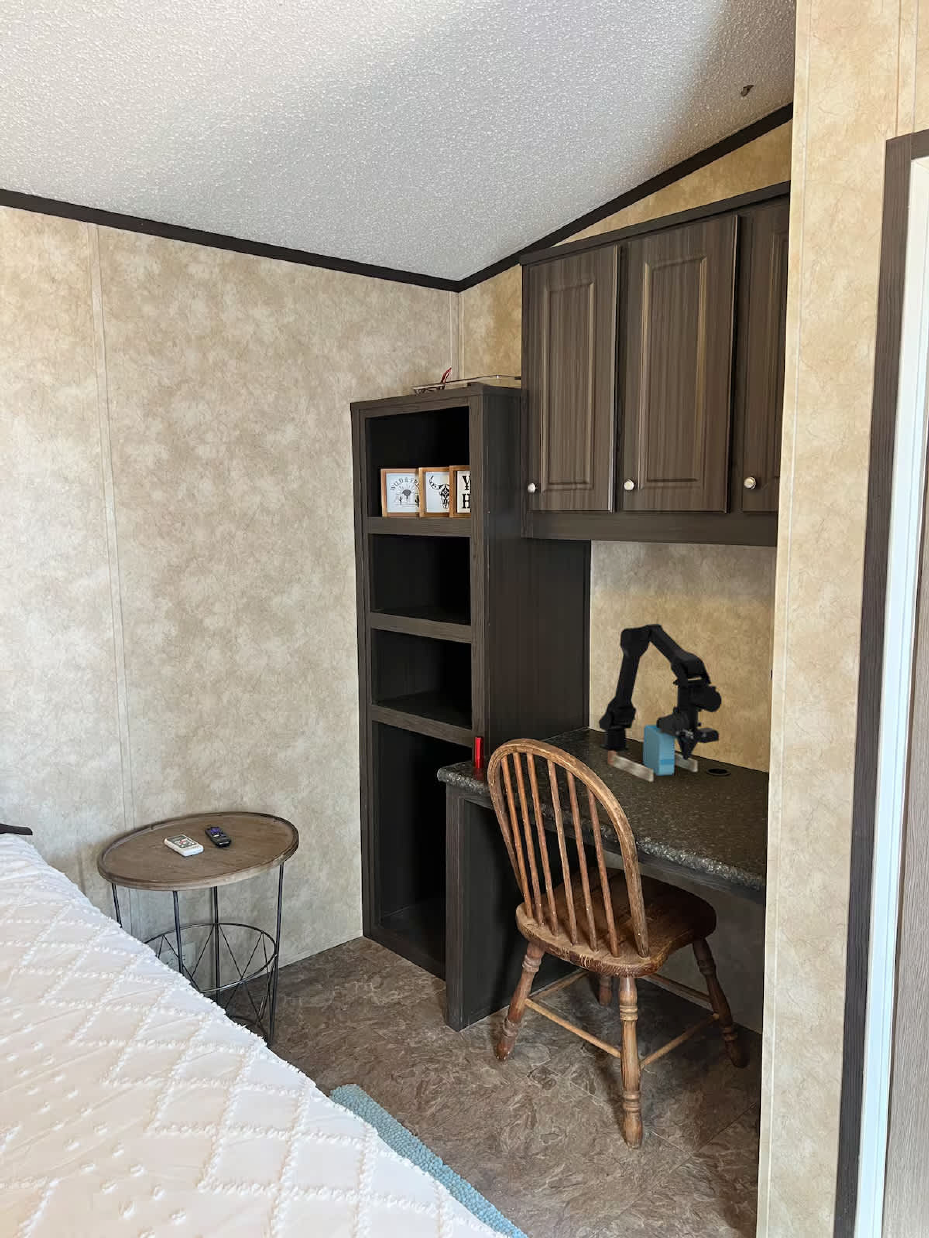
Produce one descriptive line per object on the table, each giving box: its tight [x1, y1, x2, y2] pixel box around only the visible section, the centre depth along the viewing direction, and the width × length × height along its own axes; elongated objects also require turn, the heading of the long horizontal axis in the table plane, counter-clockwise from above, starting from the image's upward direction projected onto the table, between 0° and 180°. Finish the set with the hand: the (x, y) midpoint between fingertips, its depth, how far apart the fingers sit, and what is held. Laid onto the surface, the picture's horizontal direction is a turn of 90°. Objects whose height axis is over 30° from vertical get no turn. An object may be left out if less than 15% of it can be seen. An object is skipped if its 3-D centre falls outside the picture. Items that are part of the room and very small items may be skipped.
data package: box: [642, 724, 676, 776], centre depth 261 cm, size 12×4×12 cm, turn 11°
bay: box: [607, 750, 699, 782], centre depth 264 cm, size 18×18×4 cm
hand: (685, 759), depth 252 cm, fingers closed
